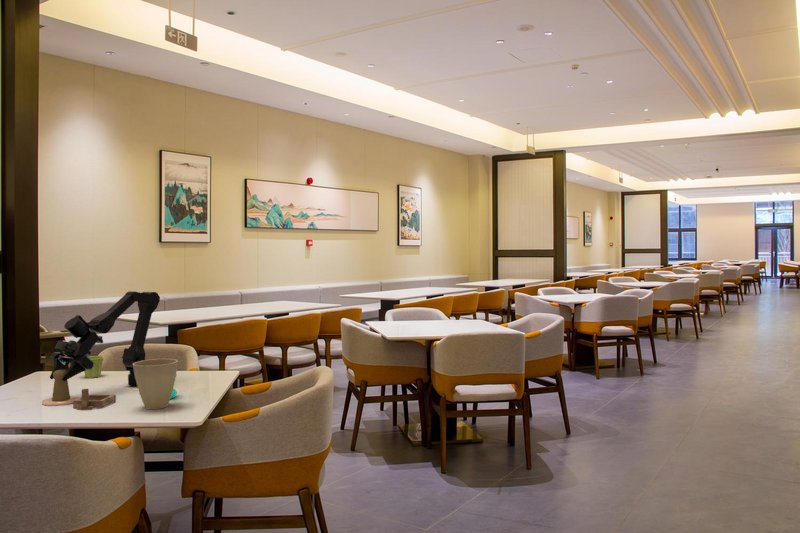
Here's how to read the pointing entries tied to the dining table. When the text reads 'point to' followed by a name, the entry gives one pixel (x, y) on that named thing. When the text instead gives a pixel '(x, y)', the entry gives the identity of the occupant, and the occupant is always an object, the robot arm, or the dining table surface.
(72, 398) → the coaster
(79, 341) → the robot arm
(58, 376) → the olive bulb shape
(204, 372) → the dining table surface
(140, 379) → the plant pot
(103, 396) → the collar stand
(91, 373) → the plant pot
